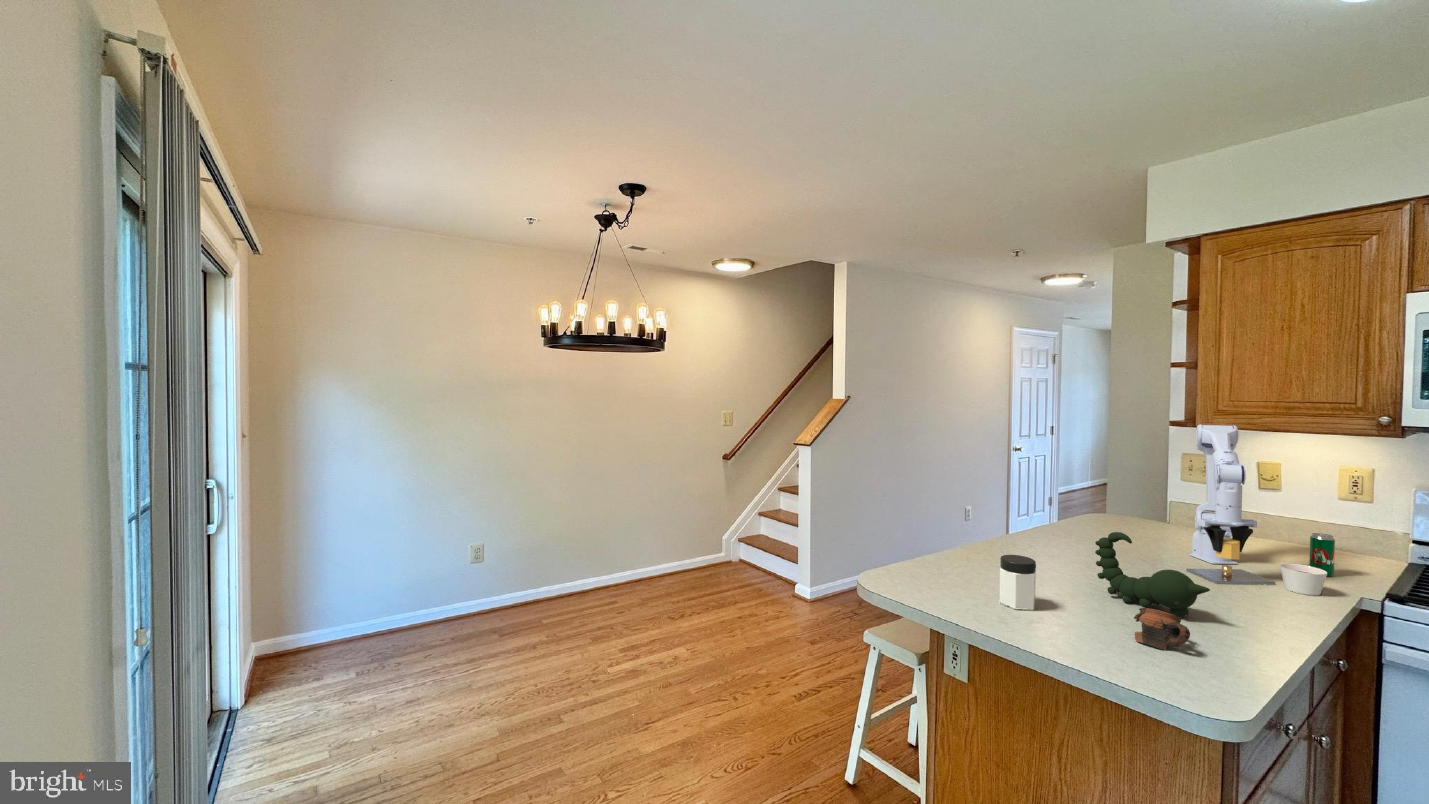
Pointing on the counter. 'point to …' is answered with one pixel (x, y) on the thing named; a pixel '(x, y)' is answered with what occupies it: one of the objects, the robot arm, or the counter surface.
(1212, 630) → the counter surface
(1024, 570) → the jar
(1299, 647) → the counter surface
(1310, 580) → the candle
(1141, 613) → the pottery mug
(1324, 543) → the soda can
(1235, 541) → the orange cap
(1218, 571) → the plate
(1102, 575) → the toy figurine
